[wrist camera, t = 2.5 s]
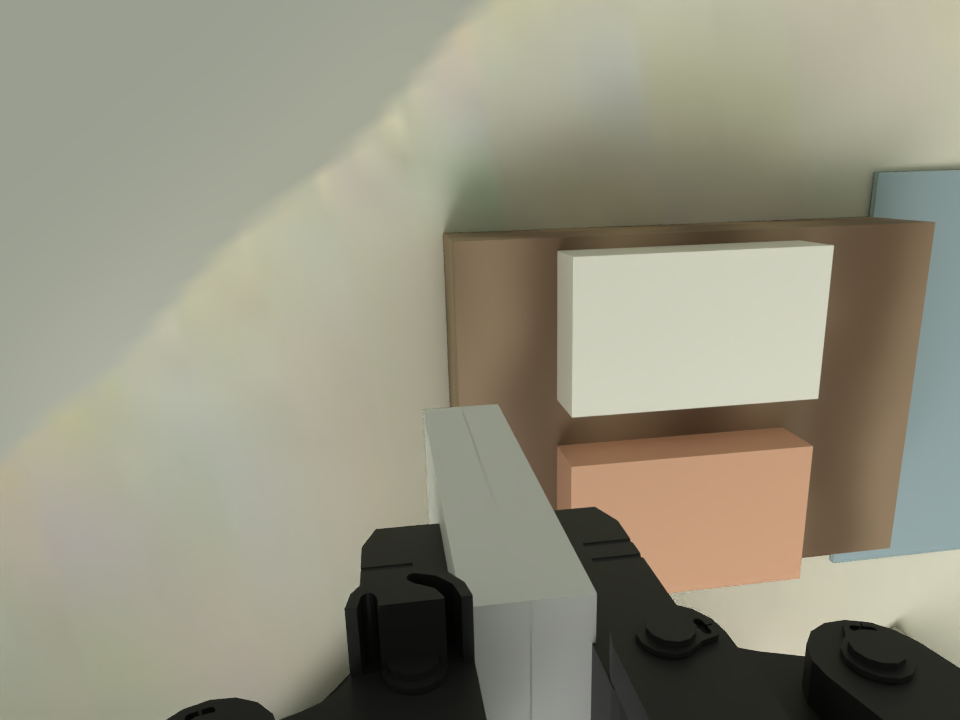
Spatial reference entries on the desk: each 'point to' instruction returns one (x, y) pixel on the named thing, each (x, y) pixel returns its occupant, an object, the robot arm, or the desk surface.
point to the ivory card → (690, 325)
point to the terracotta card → (699, 502)
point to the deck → (820, 422)
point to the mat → (928, 372)
